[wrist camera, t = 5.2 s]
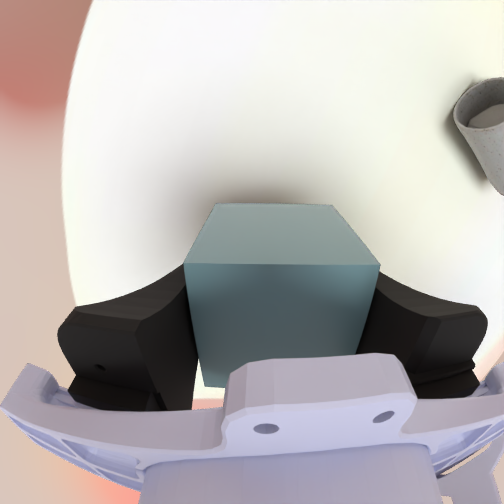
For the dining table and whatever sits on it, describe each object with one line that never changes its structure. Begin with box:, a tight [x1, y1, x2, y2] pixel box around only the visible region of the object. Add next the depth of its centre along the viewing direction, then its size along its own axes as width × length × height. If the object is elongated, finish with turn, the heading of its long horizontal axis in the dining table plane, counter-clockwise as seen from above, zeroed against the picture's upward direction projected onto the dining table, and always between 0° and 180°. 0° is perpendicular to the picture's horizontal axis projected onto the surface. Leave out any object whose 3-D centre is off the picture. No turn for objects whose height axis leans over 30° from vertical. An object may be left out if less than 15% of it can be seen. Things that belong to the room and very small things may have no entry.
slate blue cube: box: [183, 203, 381, 388], centre depth 11 cm, size 6×6×6 cm
